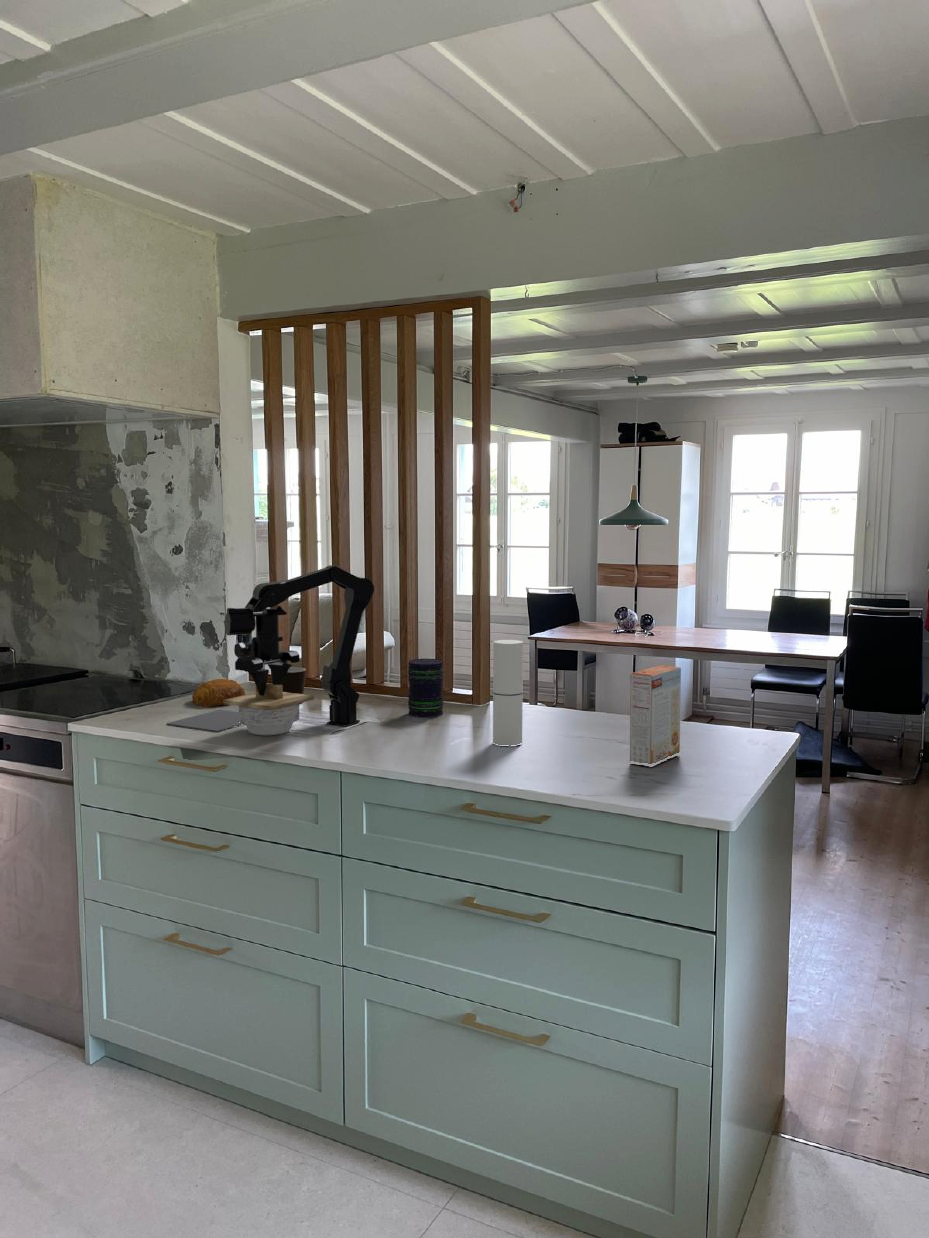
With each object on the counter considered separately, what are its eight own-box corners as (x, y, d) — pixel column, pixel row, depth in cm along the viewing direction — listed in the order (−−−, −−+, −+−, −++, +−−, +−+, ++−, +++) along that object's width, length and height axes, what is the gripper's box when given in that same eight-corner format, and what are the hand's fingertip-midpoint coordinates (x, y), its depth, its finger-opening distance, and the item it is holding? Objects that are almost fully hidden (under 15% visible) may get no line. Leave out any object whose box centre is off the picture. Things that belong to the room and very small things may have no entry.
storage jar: (449, 715, 258) (449, 662, 256) (416, 719, 253) (416, 664, 252) (434, 709, 266) (434, 657, 265) (402, 712, 262) (402, 659, 261)
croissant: (252, 709, 277) (255, 682, 277) (206, 709, 266) (209, 681, 265) (225, 701, 287) (228, 675, 287) (180, 701, 276) (183, 674, 275)
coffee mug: (303, 706, 270) (302, 672, 269) (273, 706, 270) (273, 672, 269) (310, 698, 282) (310, 666, 280) (282, 698, 282) (281, 665, 281)
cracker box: (657, 752, 218) (659, 664, 216) (680, 756, 214) (683, 666, 212) (627, 764, 207) (629, 671, 205) (651, 768, 203) (653, 674, 201)
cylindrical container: (497, 747, 222) (498, 644, 219) (489, 741, 228) (489, 640, 226) (526, 746, 223) (527, 643, 221) (516, 739, 230) (517, 639, 228)
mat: (269, 717, 255) (269, 716, 254) (217, 732, 237) (217, 730, 237) (219, 711, 263) (219, 709, 263) (166, 724, 246) (166, 723, 245)
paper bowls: (236, 727, 242) (235, 697, 242) (294, 723, 248) (293, 694, 247) (242, 740, 228) (242, 709, 227) (304, 736, 233) (304, 705, 232)
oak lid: (313, 699, 240) (313, 682, 240) (272, 710, 226) (272, 692, 226) (266, 693, 248) (265, 677, 247) (223, 703, 234) (223, 686, 233)
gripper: (266, 627, 247) (268, 685, 249) (217, 635, 231) (219, 697, 233) (300, 630, 242) (301, 689, 244) (252, 638, 226) (253, 701, 227)
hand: (268, 693), depth 237 cm, fingers open, 5 cm apart
